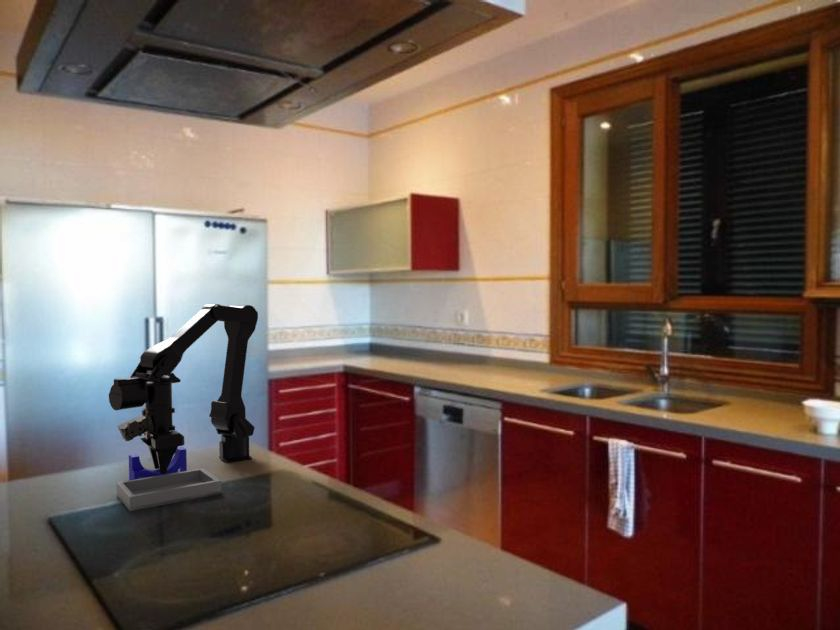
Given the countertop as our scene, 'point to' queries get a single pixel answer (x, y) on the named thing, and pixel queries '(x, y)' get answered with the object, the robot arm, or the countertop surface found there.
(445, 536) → the countertop surface
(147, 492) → the parts tray
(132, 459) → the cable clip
